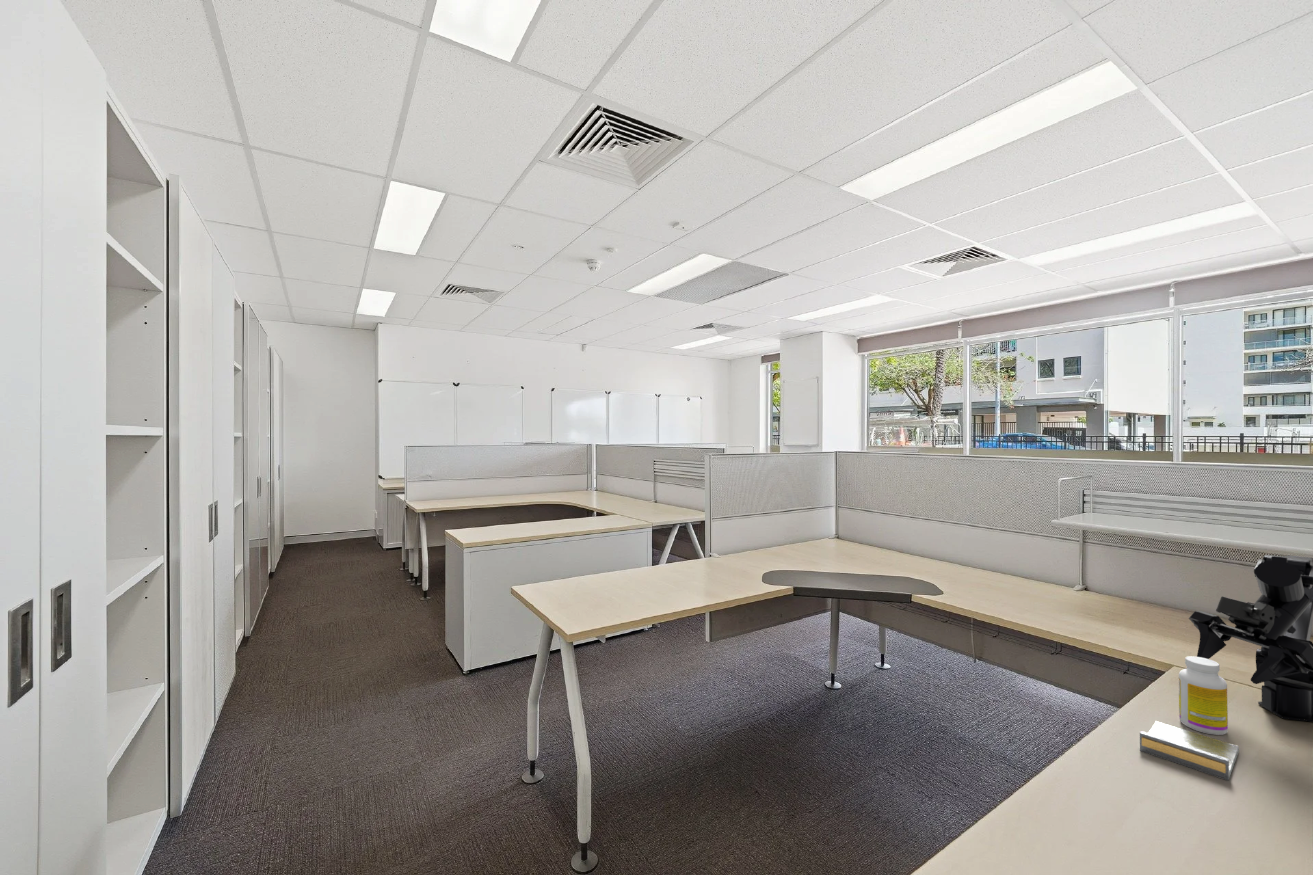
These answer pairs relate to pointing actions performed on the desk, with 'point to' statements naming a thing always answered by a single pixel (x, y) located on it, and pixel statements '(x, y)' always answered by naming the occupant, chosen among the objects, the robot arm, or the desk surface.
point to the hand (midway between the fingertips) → (1224, 671)
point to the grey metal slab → (1190, 749)
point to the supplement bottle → (1203, 696)
